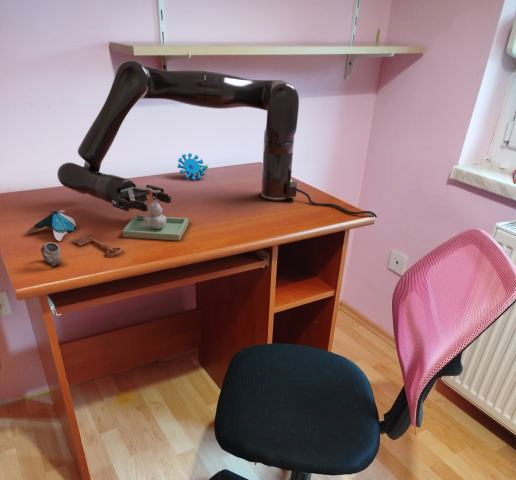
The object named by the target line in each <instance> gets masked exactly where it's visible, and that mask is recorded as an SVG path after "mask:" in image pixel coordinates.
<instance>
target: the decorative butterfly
mask: <svg viewBox="0 0 516 480" xmlns="http://www.w3.org/2000/svg"><path fill="white" fill-rule="evenodd" d="M65 212H66V210H53V211H52V210H51V211H50V213H49V215H47V216H46V217H44V218H42V219H40V221H38V222H37V223H35V224H34V225H33V226H31V228H29V229H28V230H27V231H26V233H27V234H28V235H30V234H33V233H34V232H36V231H38V230H43V229H44V228H45V227H47V228H49V227H52V232H53V236H54V238H55V239H56V240H57V241H58V242H60V241H61V240H63V237H64V236H65V235H67V234H68V232H70V233H72V232H74V231H75V230H76V229H77V225H76V221H75V220H74V218H73V217H71V216H69V215H66V214H63V213H65Z"/></svg>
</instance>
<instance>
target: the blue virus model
mask: <svg viewBox="0 0 516 480" xmlns="http://www.w3.org/2000/svg"><path fill="white" fill-rule="evenodd" d="M192 156H193V153H191V152H188V154H185V153H182V155H181V157H179V158H178V159H177V161H178V164H177V168H178V169H180V170H179V173H180V175H184V174H185V173H186V174H185V175H184V178H186V179H189V178H190V176H191V178H190V180H191V181H195V180H196V178H197V180H201V179H202V176H205V174H206V170H208V168H209V164H205V165H203V164H204V159H201V158H200V159H199V155H197V154H195V155H194V157H193V158H192ZM187 157H188V158H187ZM196 175H197V177H196Z"/></svg>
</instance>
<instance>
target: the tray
mask: <svg viewBox="0 0 516 480" xmlns="http://www.w3.org/2000/svg"><path fill="white" fill-rule="evenodd" d="M145 216H146V214H145V215H143V214H142V215H141V214H135V215H134V216H133V218H131V219H130V221H129V222H128V223H127V225H126V226H124V228H123V229H122V231H121V232H122V237H123V238H137V239H148V240H149V239H151V240H163V241H165V240H166V241H178V242H179V241H181V239H182V236H183V235H184V233H185V231H186V229H187V228H188V226H189V224H190V223H189V218H187V217H175V216H173V217H171V216H165V217H166V225H165V227H163V228H161V229H154V228H152V227H150V226H149V227H146V226H145V222H144V220H143V218H144V217H145Z"/></svg>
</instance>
